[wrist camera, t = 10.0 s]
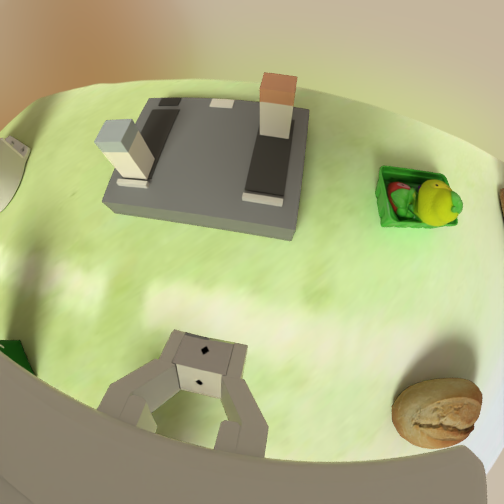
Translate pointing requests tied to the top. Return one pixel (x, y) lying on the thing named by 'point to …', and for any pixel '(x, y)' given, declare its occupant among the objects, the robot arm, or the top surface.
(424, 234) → the top surface
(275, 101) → the switch
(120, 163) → the switch
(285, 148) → the console
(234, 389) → the robot arm
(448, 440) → the bread roll
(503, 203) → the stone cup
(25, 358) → the milk carton
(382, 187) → the fruit basket
